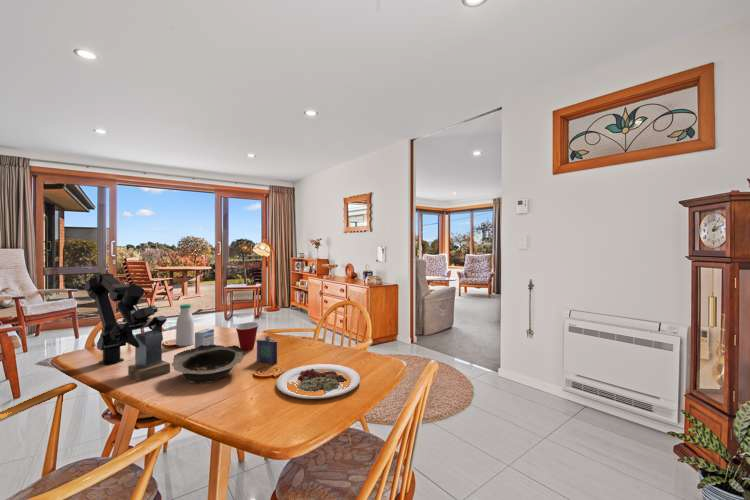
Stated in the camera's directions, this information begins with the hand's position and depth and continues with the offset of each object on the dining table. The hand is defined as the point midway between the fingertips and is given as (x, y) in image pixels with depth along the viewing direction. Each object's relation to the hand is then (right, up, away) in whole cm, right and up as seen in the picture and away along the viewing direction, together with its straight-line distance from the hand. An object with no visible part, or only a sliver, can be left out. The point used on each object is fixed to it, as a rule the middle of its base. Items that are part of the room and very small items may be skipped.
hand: (150, 343), depth 125 cm
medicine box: (+4, -12, +32) cm, 34 cm away
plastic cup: (+24, -12, +32) cm, 42 cm away
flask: (+40, -12, +15) cm, 44 cm away
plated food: (+66, -13, -6) cm, 67 cm away
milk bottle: (-9, -12, +38) cm, 41 cm away
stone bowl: (+23, -12, -1) cm, 26 cm away
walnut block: (-1, -12, 0) cm, 12 cm away
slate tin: (-1, -8, 0) cm, 8 cm away
